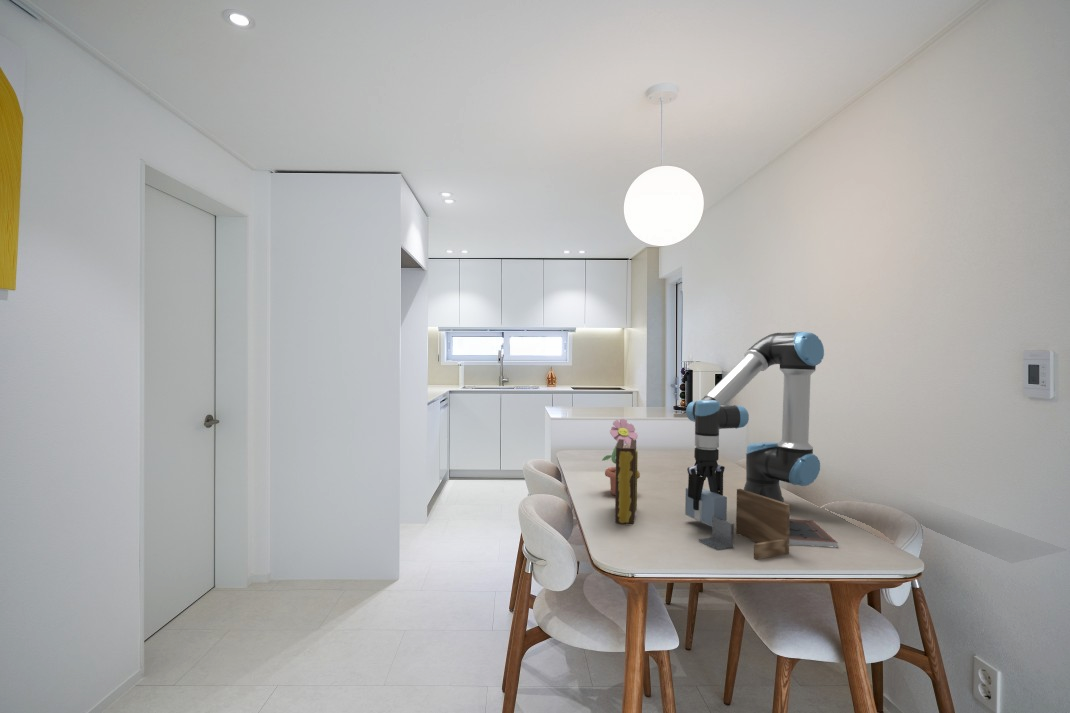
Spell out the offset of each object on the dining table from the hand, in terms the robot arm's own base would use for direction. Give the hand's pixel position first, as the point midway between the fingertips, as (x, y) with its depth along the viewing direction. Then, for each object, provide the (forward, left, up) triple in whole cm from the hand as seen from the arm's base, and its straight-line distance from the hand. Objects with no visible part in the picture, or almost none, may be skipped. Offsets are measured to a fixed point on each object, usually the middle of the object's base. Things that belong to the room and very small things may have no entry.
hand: (705, 518), depth 178 cm
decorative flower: (+4, -45, -3) cm, 45 cm away
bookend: (+8, +14, -3) cm, 16 cm away
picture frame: (-23, +16, -4) cm, 28 cm away
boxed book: (0, 0, 0) cm, 0 cm away
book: (+17, -21, -3) cm, 27 cm away
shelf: (0, +18, -3) cm, 18 cm away
